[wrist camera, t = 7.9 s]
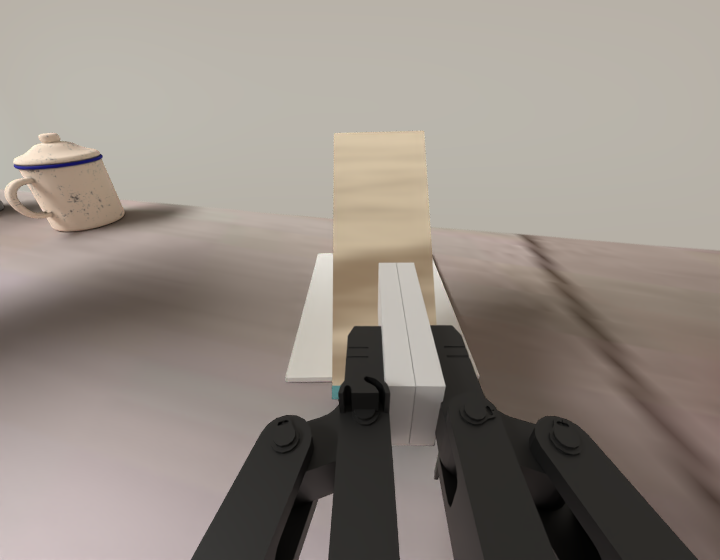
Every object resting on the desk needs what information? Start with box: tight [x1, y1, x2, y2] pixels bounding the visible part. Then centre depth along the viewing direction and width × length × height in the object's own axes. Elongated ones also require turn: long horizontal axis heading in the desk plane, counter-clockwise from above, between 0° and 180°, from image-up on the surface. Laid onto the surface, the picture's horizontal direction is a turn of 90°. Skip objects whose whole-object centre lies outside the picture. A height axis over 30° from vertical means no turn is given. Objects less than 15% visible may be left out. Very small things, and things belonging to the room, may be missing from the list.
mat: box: [285, 253, 480, 382], centre depth 27 cm, size 17×12×1 cm
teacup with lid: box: [5, 133, 125, 232], centre depth 42 cm, size 12×9×12 cm
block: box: [332, 131, 437, 399], centre depth 18 cm, size 5×5×14 cm
